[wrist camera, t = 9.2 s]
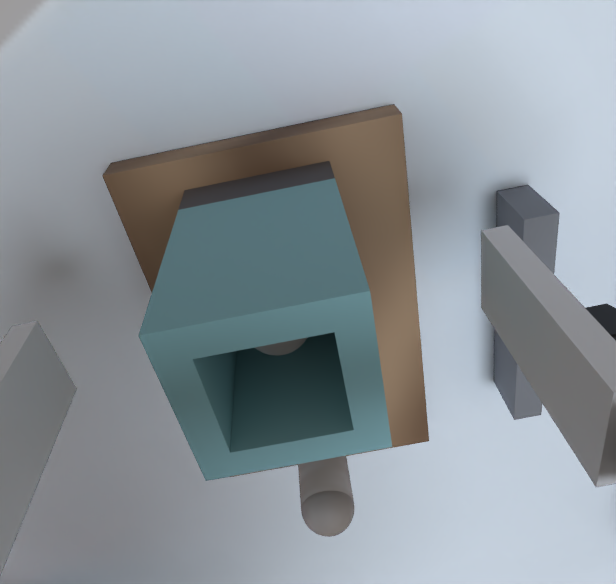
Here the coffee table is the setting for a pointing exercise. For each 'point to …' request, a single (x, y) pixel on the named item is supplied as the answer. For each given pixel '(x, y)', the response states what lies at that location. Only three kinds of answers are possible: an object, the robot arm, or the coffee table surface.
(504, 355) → the feeder rails
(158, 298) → the sleeve
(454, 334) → the coffee table surface
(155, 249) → the pin board
